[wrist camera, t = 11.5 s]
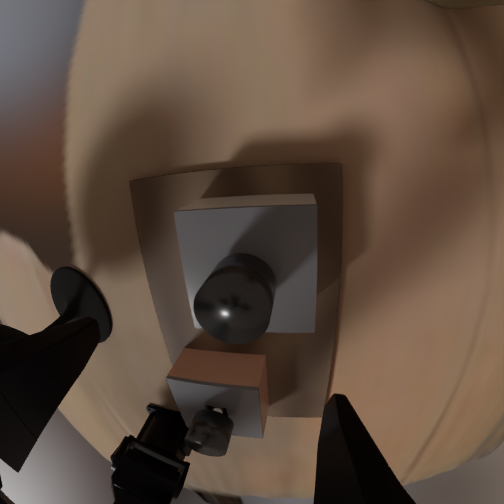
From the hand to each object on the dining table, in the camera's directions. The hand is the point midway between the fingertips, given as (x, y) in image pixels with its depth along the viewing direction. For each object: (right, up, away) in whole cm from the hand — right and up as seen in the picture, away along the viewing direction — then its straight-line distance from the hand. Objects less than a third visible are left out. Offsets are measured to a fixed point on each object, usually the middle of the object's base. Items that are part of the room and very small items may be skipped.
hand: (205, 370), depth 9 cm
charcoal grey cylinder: (-1, -9, +16) cm, 19 cm away
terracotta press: (-1, -9, +17) cm, 19 cm away
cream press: (+2, +4, +12) cm, 13 cm away
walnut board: (+1, -2, +15) cm, 15 cm away
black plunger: (+2, +4, +11) cm, 12 cm away
